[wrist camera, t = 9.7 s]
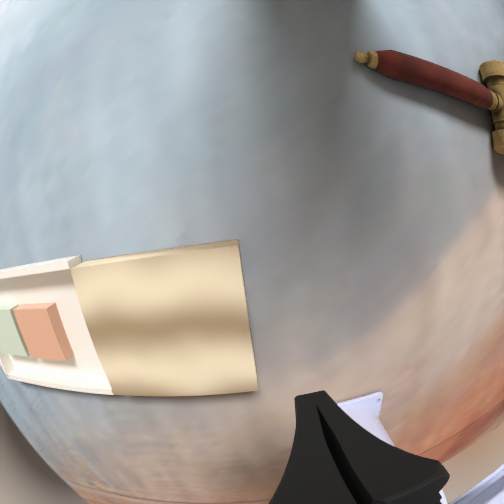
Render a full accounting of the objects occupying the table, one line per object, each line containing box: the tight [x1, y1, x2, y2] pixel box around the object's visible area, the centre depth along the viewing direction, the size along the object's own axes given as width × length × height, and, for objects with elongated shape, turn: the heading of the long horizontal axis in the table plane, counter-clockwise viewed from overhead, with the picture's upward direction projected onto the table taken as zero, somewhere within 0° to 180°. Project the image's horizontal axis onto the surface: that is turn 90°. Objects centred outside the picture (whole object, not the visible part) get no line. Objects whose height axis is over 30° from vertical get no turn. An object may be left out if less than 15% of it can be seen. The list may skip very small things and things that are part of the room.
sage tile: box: [0, 304, 30, 357], centre depth 18 cm, size 5×5×2 cm
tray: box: [0, 255, 114, 395], centre depth 19 cm, size 12×16×2 cm
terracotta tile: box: [13, 302, 73, 361], centre depth 19 cm, size 5×5×2 cm
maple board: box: [71, 240, 258, 396], centre depth 19 cm, size 11×12×2 cm
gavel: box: [355, 50, 504, 155], centre depth 16 cm, size 21×5×10 cm
